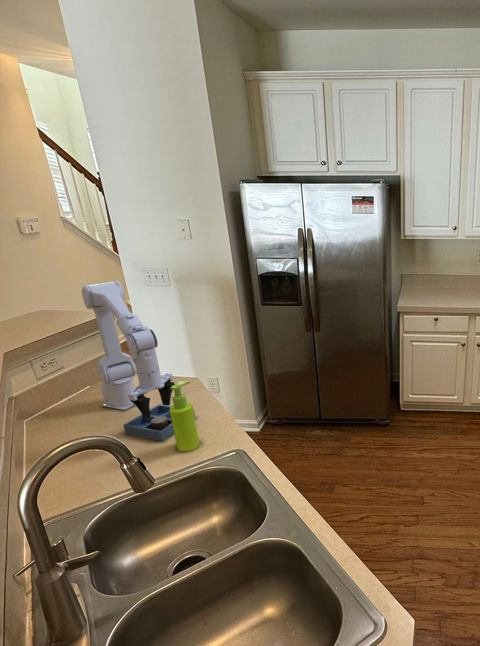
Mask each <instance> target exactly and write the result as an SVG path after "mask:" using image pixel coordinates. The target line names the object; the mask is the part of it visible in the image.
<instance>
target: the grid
mask: <svg viewBox="0 0 480 646" xmlns="http://www.w3.org/2000/svg"><path fill="white" fill-rule="evenodd" d="M171 406H172V405H169V406H167V405H163V403H158V404H156V405H154V406H153V407H151V408H150V414H151V416H150V417H149V418H146V417H143V415H142V414H139V415H138V416H136V417H135V418H133V419H131V420H129V421H127V422H126V423H124V424H123V429H124V433H125V434H126V435H130V436H134V437H135V436H136V437H140V438H144V439H149V440H154V441H159V442H164V441H165V440H167V439H168V438H170V437H171V436H172V435H175V434H174V429H173V424H172V419H171V415H170V410H169V409H170V407H171ZM193 411H194V412H195V410H194V409H193ZM159 416H166V417H167V420H168V424H169V426H167V427H166V428H164V429H163V430H161V431H158V430H153V429H152V424H151V420H152V419H153V418H155V417H159ZM194 417H195V418H196V415H195V413H194Z"/></svg>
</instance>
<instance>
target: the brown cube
mask: <svg viewBox="0 0 480 646" xmlns="http://www.w3.org/2000/svg"><path fill="white" fill-rule="evenodd" d="M151 424H152V429H153V430H158V431H161V430H163V429H164V428H166V427H167V426H169V424H168V420H167V417H166V416H159V417H155V418H153V419H152V420H151Z"/></svg>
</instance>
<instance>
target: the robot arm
mask: <svg viewBox="0 0 480 646" xmlns="http://www.w3.org/2000/svg"><path fill="white" fill-rule="evenodd" d="M81 295H82V300H83V302H84V306H85V308H86V310H92V311H93V313H94V316H95V320H96V324H97V329H98V332H99V335H100V341H101V343H102V348H103V352H104V355H103V356H102V357H101V358H100V359H99V360H98V361H97V363H96V365H97V374H98V377H99V379H100V381H101V382H102V384H101V393H102V396H103V400H104V402H105V403H104V404H103V407H106V408H110V409H116V410H121V411H125V410H128V409H130V408H131V407H134V406H135V407H136V408H137V409H138V411H139V412H140V413H141V414H142V415H143V417H146V418H149V417H150V416H151V414H150V409H151V408H150V400H151V397H147V396H146V394H147V393H150V392H151V391H154V390H157V391H158V392H159V395H160V396H159V397H160V400H161V404H162V405H167V406H171V399H172V393H173V390H172V389H171V388H170V387H172V386H173V385H175V384H176V383H175V382H174V375H173V374H172V373H165V374H163V375H161V370H160V366H159V360H158V356H157V351H156V348H158V344H159V342H158V338H157V335H156V333H155V331H154V330H153V329H152V328H150V327H148V326H145V324H144V323H143V322H142V321H141V320H140V318H139V317H138V315H137V314H135V313H133V312H130V310H129V309H128V307H127V305H126V303H125V299H126V298H125V297H126V294H125V289H124V287H123V285H122V284H121V282H119V281H118V280H114V281H110V282H103V283H96V284H88V285H83V286H82V287H81ZM115 318H116V320H115ZM117 327H118V328H117ZM118 329H119V330H120V332H121V333H122V334H123V336H124V338H125V341H126V345H127V348H128V349H129V352H130V354H128V353H125V352H123V351H122V346H121V342H120V337H119V333H118ZM136 374H137V379H138V383H139V385H137V386H136V387H135V385H134V382H133V381H134V379H135V376H136ZM141 414H140V415H141Z"/></svg>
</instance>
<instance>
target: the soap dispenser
mask: <svg viewBox="0 0 480 646" xmlns="http://www.w3.org/2000/svg"><path fill="white" fill-rule="evenodd" d="M174 384H175V385H173V386H172V387H170V388H171V389H172V391H174V394H173V395H172V396H171V399H172V403H173V404H172V405H170V406H171V407H170V409H169V410H170V415H171V419H172V424H173V429H174V434H173V435H174V439H175V443H176V448H177V450H178V451H179V452H190V451H193V450H195V449H196V448H198V447H199V446H200V439H199V434H198V429H197V428H198V427H197V423H196V416H195V417H194V414H195V410H194V407H193V403H191V402H188V401H187V395H186V394H185V393H182V387H184V386H186V385H188V384H191V381H189V380H182V381H178V382H177V383H174ZM193 410H194V411H193Z"/></svg>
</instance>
